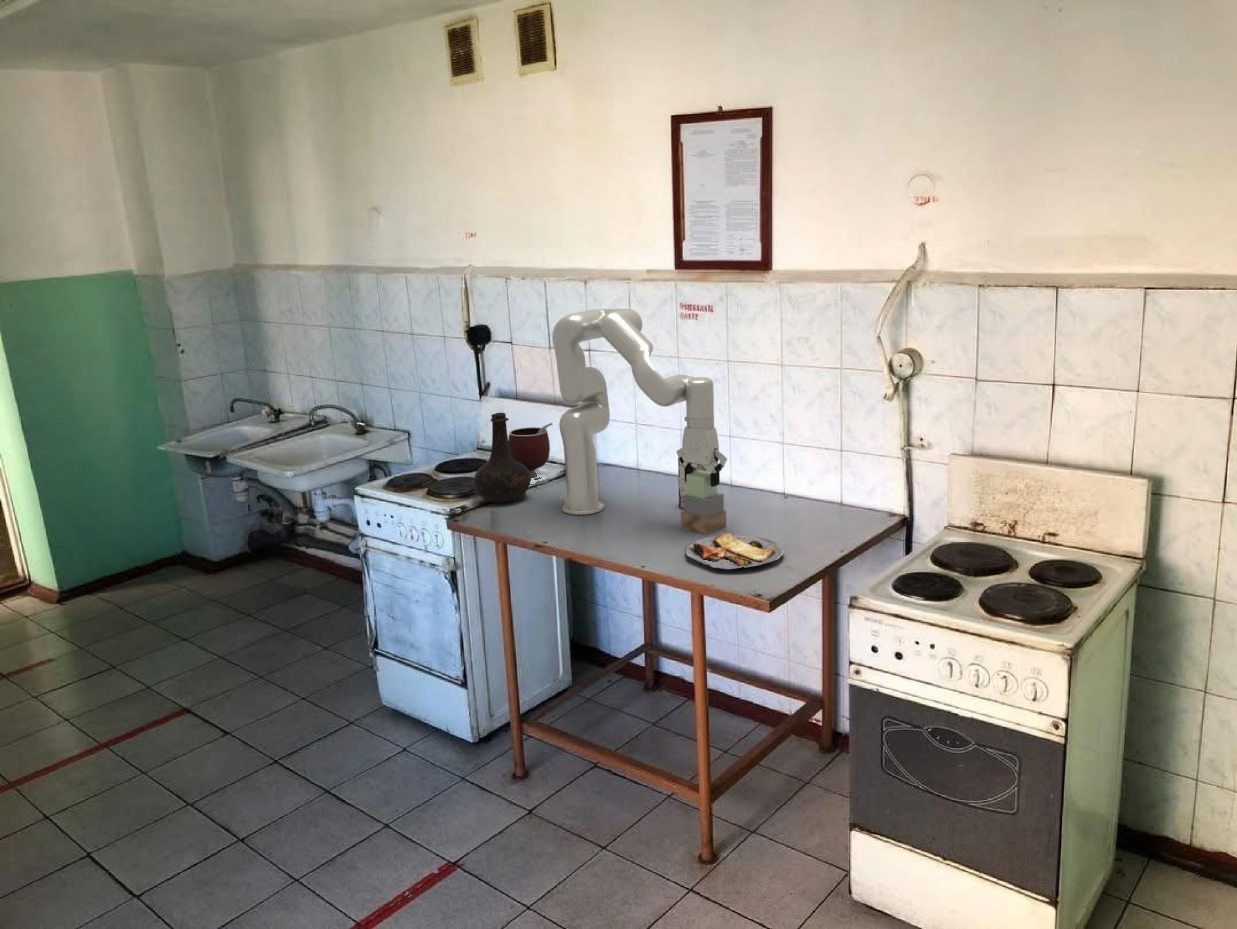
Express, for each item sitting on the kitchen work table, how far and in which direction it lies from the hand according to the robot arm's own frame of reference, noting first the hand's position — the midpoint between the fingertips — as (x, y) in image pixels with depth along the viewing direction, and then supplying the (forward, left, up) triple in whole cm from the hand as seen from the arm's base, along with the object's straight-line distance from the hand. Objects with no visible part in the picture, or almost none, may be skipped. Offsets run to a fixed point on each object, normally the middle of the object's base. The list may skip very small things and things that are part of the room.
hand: (702, 483), depth 280 cm
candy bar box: (-14, +15, -13) cm, 24 cm away
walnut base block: (0, 0, -13) cm, 13 cm away
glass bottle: (-70, -14, -13) cm, 73 cm away
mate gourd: (-79, +7, -13) cm, 80 cm away
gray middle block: (0, 0, -8) cm, 8 cm away
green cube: (0, 0, -3) cm, 3 cm away
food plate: (+21, -14, -14) cm, 29 cm away
